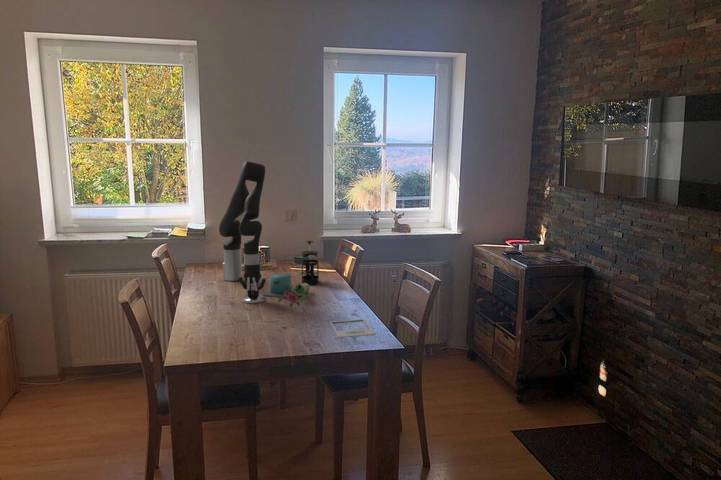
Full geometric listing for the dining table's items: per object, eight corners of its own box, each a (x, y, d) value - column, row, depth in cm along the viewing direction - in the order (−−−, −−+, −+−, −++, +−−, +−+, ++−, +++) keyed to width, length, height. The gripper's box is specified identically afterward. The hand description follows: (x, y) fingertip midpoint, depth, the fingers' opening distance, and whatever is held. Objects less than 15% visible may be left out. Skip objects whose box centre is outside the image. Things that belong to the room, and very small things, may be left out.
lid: (237, 302, 258) (237, 292, 257) (246, 296, 268) (246, 286, 268) (260, 304, 256) (260, 293, 255) (268, 297, 266) (268, 287, 266)
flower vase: (311, 307, 275) (300, 314, 240) (288, 300, 275) (274, 305, 240) (318, 285, 275) (308, 288, 240) (295, 277, 276) (282, 279, 241)
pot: (262, 296, 268) (262, 278, 267) (272, 288, 282) (271, 272, 280) (289, 297, 266) (289, 280, 264) (298, 290, 279) (297, 273, 278)
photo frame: (337, 336, 212) (330, 321, 229) (337, 338, 212) (330, 323, 229) (374, 333, 215) (363, 318, 232) (374, 335, 215) (363, 321, 232)
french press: (321, 284, 290) (320, 242, 286) (304, 286, 287) (303, 243, 282) (315, 279, 301) (314, 238, 296) (299, 281, 297) (298, 239, 293)
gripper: (235, 263, 256) (236, 299, 259) (263, 264, 254) (264, 300, 257) (241, 260, 264) (242, 294, 267) (268, 261, 261) (269, 296, 264)
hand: (253, 297), depth 262 cm, fingers closed on lid, 2 cm apart
